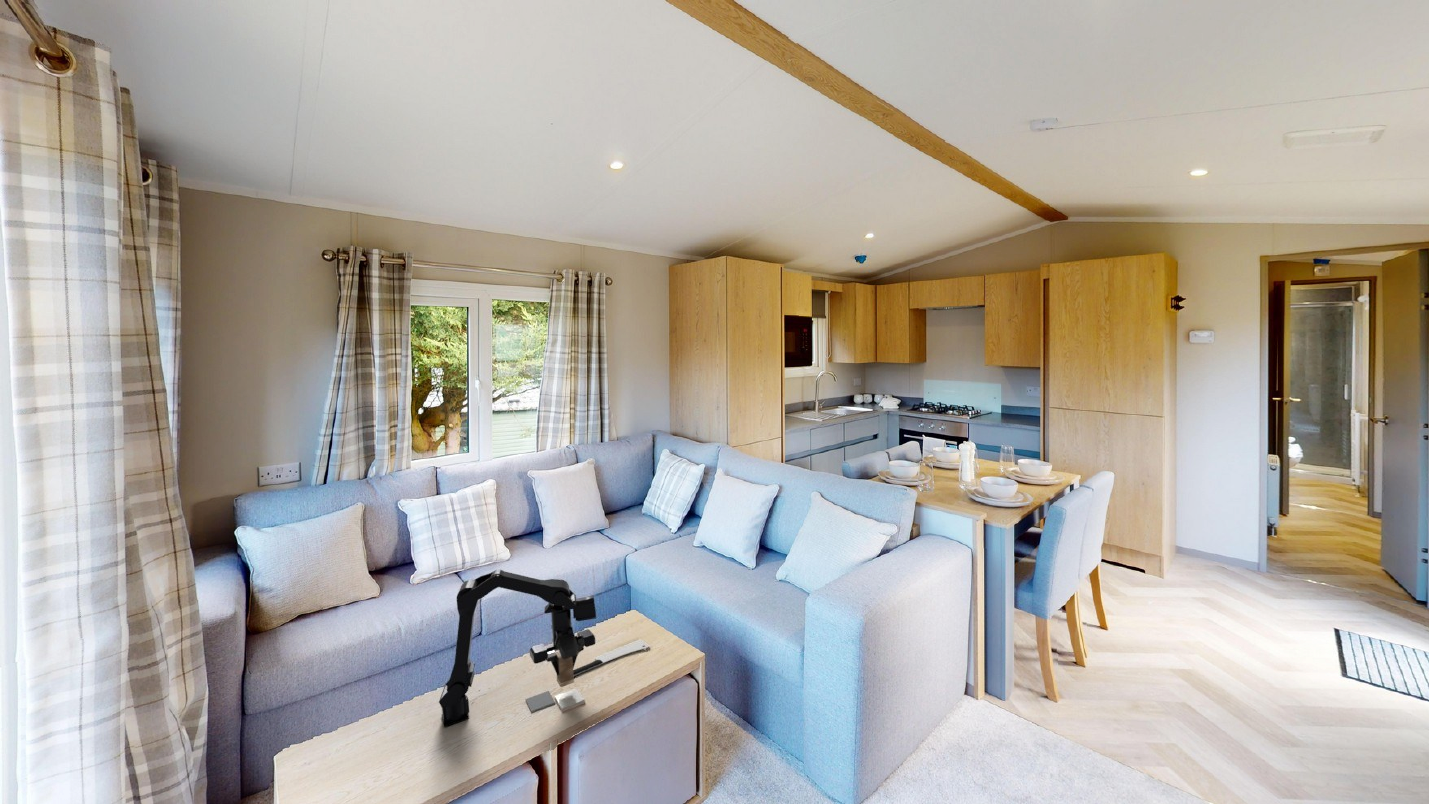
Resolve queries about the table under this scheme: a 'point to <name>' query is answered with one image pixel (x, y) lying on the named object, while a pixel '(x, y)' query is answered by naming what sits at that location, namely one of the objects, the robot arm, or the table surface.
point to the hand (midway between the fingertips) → (564, 672)
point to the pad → (540, 701)
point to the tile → (569, 699)
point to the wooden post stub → (564, 670)
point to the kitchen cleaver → (612, 655)
